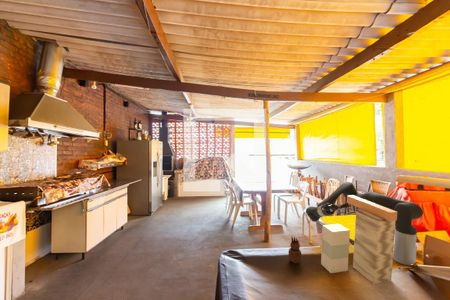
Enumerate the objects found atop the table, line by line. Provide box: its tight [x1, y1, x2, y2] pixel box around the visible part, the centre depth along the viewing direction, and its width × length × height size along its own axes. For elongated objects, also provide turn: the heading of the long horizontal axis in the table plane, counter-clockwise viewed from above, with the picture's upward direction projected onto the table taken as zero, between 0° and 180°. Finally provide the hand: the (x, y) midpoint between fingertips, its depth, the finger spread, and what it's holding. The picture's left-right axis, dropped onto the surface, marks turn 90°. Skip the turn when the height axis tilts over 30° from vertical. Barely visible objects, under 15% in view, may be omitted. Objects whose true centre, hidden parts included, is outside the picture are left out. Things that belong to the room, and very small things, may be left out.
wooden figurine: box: [288, 236, 302, 264], centre depth 123 cm, size 7×6×15 cm
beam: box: [346, 195, 397, 221], centre depth 113 cm, size 4×26×4 cm, turn 12°
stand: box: [352, 208, 396, 284], centre depth 112 cm, size 10×13×32 cm
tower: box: [320, 223, 351, 274], centre depth 117 cm, size 10×8×22 cm
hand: (341, 205), depth 133 cm, fingers open, 8 cm apart
